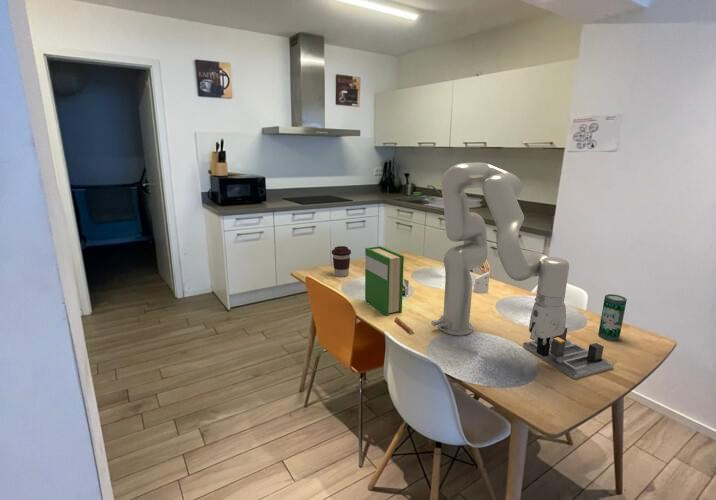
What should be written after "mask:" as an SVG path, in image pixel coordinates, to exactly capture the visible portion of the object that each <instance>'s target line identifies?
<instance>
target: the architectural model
mask: <svg viewBox="0 0 716 500" xmlns="http://www.w3.org/2000/svg"><path fill="white" fill-rule="evenodd" d="M409 284H410V283H409V280H408V279H406V278H404V277H403V294H405V295H404V297H407V296H406V295H408V296H409Z"/></svg>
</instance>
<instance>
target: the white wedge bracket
mask: <svg viewBox="0 0 716 500" xmlns="http://www.w3.org/2000/svg"><path fill="white" fill-rule="evenodd" d="M490 275H491V273H490V271H487V272H484V273H483V274H481V275H478V276H477V277H475V279H474V284H473V292H474V293H475V294H489V283H490Z"/></svg>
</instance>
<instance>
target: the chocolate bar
mask: <svg viewBox="0 0 716 500" xmlns="http://www.w3.org/2000/svg"><path fill="white" fill-rule="evenodd" d="M393 322H394V323H395V324H396V325H397V326H399V327H400V328H401V329H402V330H403V331H405V332H406V333H407V334H408V335H409V336H412V335H415V332H414V331H413V329H412V328H411V327H410V326H408V324H406V323H405V322H404V321H402V320H401V319H400V318H399V317H397V316H395V318H394V321H393Z"/></svg>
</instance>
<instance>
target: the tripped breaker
mask: <svg viewBox="0 0 716 500" xmlns="http://www.w3.org/2000/svg"><path fill="white" fill-rule="evenodd" d="M565 343H566V341H564V340H563V339H561V338H559V337H557V338H554V339H553V341H552V344H551V351H550V353H552V354H553V355H555V356H557V357H558V356H563V355H564V350H565Z"/></svg>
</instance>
